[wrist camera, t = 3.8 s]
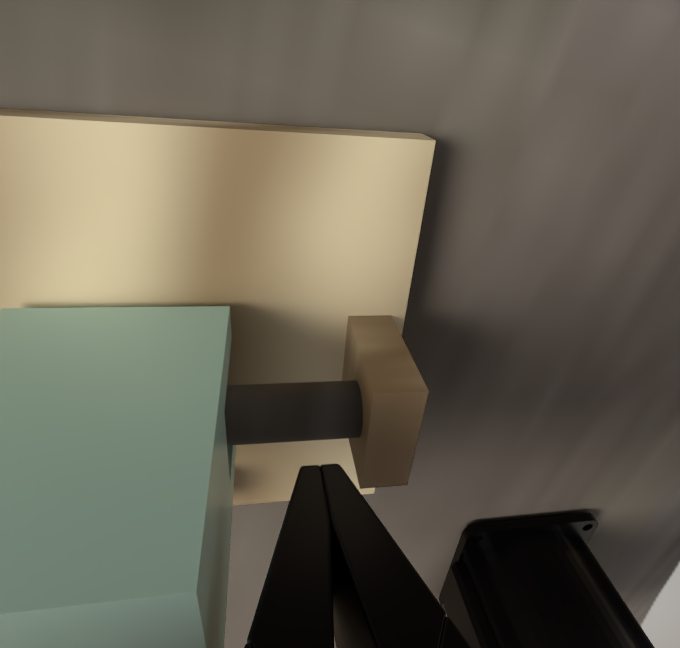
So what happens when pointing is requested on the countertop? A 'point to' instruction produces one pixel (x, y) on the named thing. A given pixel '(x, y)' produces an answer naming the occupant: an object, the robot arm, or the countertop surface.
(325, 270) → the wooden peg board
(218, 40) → the countertop surface
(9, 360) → the sleeve
